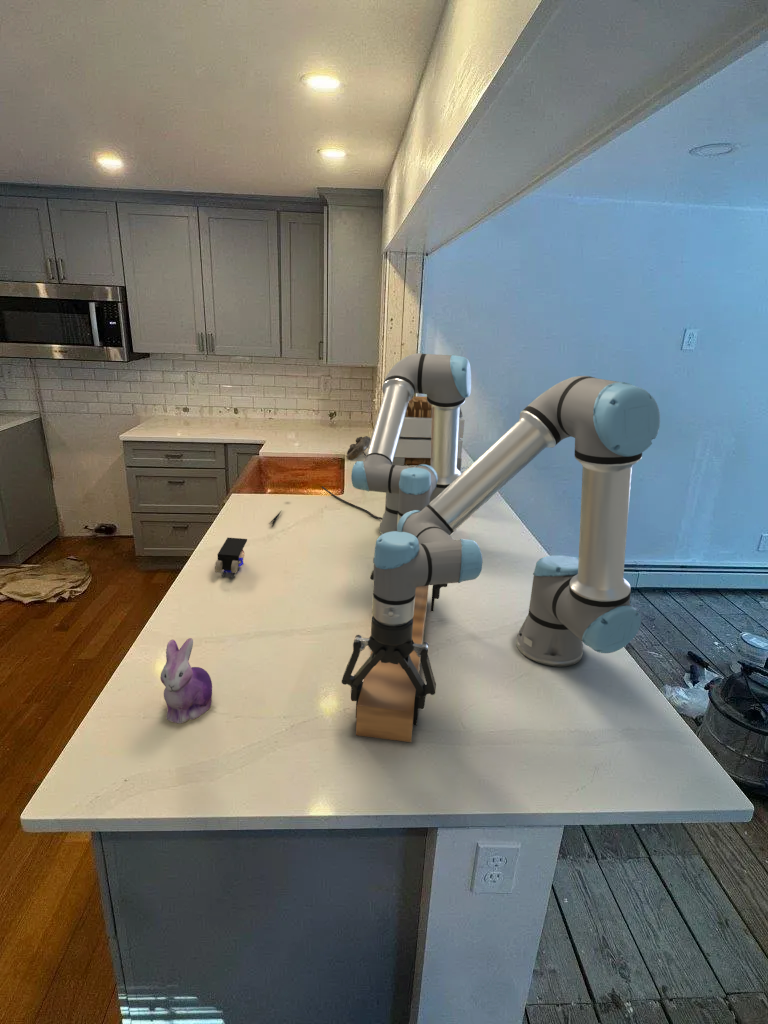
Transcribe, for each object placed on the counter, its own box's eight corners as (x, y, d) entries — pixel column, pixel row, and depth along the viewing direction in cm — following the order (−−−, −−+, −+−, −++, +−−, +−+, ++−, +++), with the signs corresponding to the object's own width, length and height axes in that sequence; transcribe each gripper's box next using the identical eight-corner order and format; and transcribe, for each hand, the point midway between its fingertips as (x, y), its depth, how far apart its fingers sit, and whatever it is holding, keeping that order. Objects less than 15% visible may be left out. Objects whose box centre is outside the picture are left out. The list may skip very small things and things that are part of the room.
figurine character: (238, 584, 162) (249, 557, 175) (236, 562, 158) (247, 536, 172) (215, 584, 161) (227, 556, 175) (212, 561, 158) (225, 535, 171)
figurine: (167, 732, 103) (160, 663, 98) (160, 699, 112) (153, 633, 107) (220, 718, 108) (215, 650, 103) (209, 687, 116) (204, 623, 111)
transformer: (382, 463, 289) (386, 382, 275) (445, 464, 293) (451, 384, 279) (390, 482, 257) (394, 392, 243) (460, 483, 261) (468, 394, 247)
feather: (288, 505, 226) (290, 501, 226) (271, 529, 199) (273, 524, 199) (284, 503, 226) (287, 499, 225) (266, 526, 199) (269, 522, 199)
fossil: (346, 442, 311) (368, 427, 306) (357, 455, 314) (379, 440, 309) (340, 456, 291) (363, 440, 286) (351, 470, 294) (374, 454, 289)
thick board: (389, 600, 154) (390, 577, 152) (427, 603, 153) (429, 581, 151) (355, 735, 105) (356, 705, 103) (410, 742, 104) (413, 711, 102)
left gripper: (360, 531, 139) (358, 608, 146) (461, 540, 136) (454, 618, 143) (365, 521, 146) (362, 595, 153) (461, 529, 143) (454, 604, 151)
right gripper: (325, 620, 100) (324, 722, 107) (456, 634, 97) (445, 738, 105) (334, 600, 107) (333, 697, 114) (456, 612, 104) (446, 711, 112)
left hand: (407, 606), depth 148 cm, fingers open, 12 cm apart
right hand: (386, 717), depth 109 cm, fingers closed on thick board, 10 cm apart
